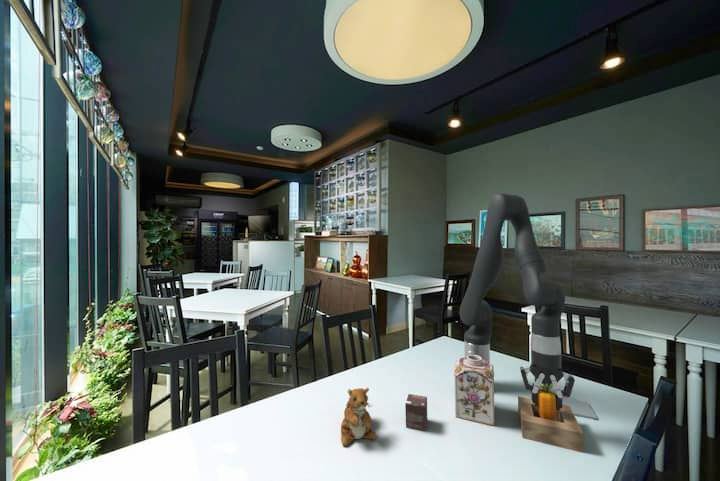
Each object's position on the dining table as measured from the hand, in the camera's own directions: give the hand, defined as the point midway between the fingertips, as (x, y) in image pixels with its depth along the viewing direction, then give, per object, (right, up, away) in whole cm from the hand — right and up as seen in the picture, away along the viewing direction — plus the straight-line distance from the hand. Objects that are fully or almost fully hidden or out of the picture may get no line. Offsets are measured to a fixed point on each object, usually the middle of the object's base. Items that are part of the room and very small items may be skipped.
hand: (546, 406), depth 84 cm
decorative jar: (-18, -7, +9) cm, 21 cm away
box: (-38, -8, +3) cm, 39 cm away
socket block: (0, -7, 0) cm, 7 cm away
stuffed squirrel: (-57, -8, 0) cm, 57 cm away
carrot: (0, -7, 0) cm, 7 cm away
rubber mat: (+16, -7, +11) cm, 21 cm away
